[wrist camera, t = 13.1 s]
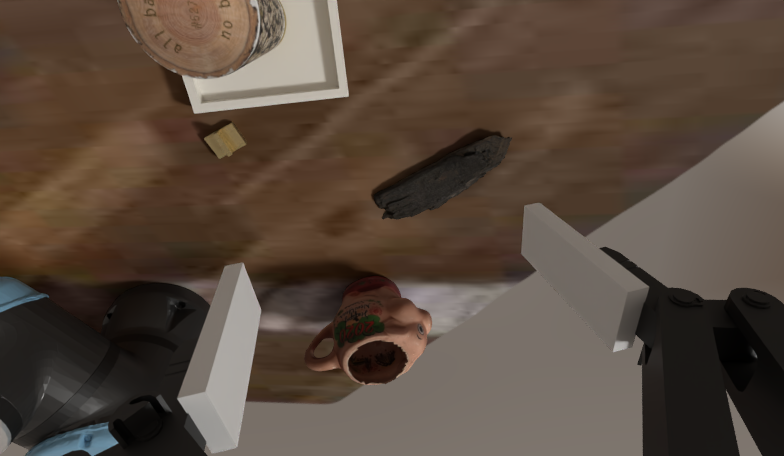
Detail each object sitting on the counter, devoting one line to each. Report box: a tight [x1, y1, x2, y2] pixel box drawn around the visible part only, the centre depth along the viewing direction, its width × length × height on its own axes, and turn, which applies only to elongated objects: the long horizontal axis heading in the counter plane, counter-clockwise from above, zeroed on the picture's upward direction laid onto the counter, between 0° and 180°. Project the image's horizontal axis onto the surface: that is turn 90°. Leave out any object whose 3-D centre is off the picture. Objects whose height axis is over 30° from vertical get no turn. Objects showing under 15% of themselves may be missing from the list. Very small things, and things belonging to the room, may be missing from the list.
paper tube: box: [118, 0, 287, 79], centre depth 30 cm, size 7×7×25 cm
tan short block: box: [204, 122, 248, 159], centre depth 46 cm, size 4×3×3 cm
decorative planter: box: [304, 276, 432, 385], centre depth 58 cm, size 20×12×14 cm, turn 109°
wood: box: [374, 135, 512, 219], centre depth 55 cm, size 22×7×3 cm, turn 117°
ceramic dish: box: [182, 0, 349, 114], centre depth 41 cm, size 18×18×2 cm
